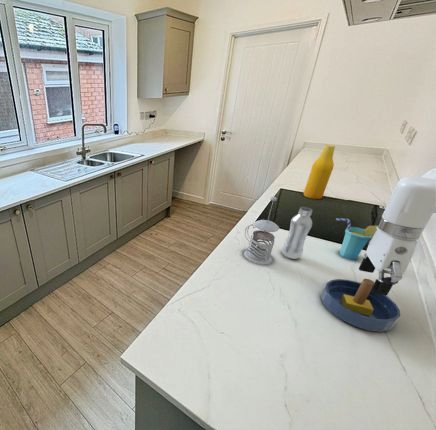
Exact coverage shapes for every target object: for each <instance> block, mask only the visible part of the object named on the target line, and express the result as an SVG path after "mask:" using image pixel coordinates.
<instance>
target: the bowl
mask: <svg viewBox="0 0 436 430" xmlns="http://www.w3.org/2000/svg"><path fill="white" fill-rule="evenodd" d="M361 283H362V282H358V281H355V280H351V279H342V278H337V279H335V278H334V279H331V280H329V281H327V282H326V283H325V285H324V288H323V290H322V292H321V295H320V299H321V302H322V303H323V305H324V306H325V307H326V309H327V310H328V311H329V312H331V314H333V315H334V316H336V317H337V318H339V319H340V320H342V321H344V322H345V323H347V324H349V325H351V326H354V327H357V328H359V329H363V330H366V331H369V332H370V331H371V332H380V333H381V332H382V333H383V332H387V331H390V330H391V329H392V328H394V326H395V325H396V323H397V322H398V320H399V319H400V317H401V310H400V308H399V306H398V305H397V303H396V302H394V301H393V300H392V298H390V297H389V296H388V295H381V294H376V293H372V292H371V291H370V293H369V295H368V297H367V299H366V300H369V301H370V303H371V305H372V307H373V309H374V310H373V312H372V314H371V316H368V315H364V314H360V313H356V312H353V311H351V310H350V309H348V308H346V307H344V306H343V305H342V303H341V298H342V296H343V294H345V295H349V296H353V297H354V296H355V294H356V292H357V291H358V289H359V287H360V285H361Z"/></svg>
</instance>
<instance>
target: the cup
mask: <svg viewBox="0 0 436 430" xmlns="http://www.w3.org/2000/svg"><path fill="white" fill-rule="evenodd" d="M335 221H340V222H347V227H346V228H345V230H344V237H343V241H342V244H341V247H340V250H339V255H340V256H341V257H342V258H344V259H347V260H354V261H356V259H357V258H358V257H359V255H360V254H361V252H362V250H363V249H364V248H365V246H366V244H367V243H368V242H369V240H371V239H372V238H373V236H374V234H375V232H376V231H377V225H368V226H367V227H366V228H360V227H357V226H351V220H350V219H349V218H340V217H337V218H335Z"/></svg>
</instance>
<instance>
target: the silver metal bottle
mask: <svg viewBox="0 0 436 430" xmlns="http://www.w3.org/2000/svg"><path fill="white" fill-rule="evenodd" d="M312 214H313V209H312V208H310V207H307V206H300V207H299V210H298V212H297V214H296V215H294V216H293V217H292V218H291V219H290V225H289V230H288V235H287V237H286V239H285V242H284V243H283V245H282V246H281V253H282V254H283V256H285V257H286V258H289V259H292V260H298V259H299V258H301V257H302V255H303V252H304V246H305V241H306V238H307V237H308V236H307V235H308V234H309V232H310V231H311V228H312V227H313V220H312V218H311V216H312Z"/></svg>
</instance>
